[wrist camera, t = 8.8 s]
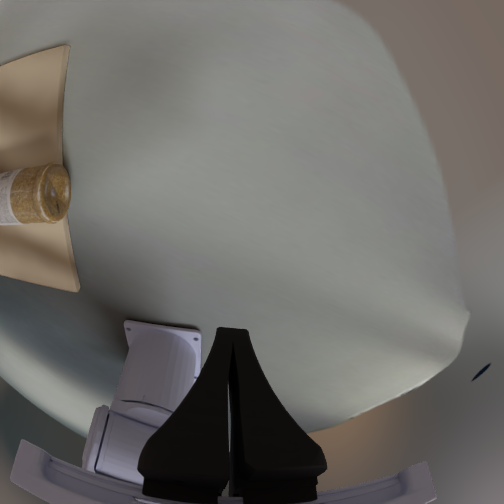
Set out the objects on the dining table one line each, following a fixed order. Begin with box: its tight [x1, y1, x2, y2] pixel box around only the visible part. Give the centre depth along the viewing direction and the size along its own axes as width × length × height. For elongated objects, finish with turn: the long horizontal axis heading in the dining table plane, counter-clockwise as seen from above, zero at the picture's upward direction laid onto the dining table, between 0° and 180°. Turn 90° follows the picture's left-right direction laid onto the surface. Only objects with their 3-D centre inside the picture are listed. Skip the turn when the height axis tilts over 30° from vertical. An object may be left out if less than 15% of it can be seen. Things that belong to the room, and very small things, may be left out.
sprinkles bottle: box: [0, 162, 71, 226], centre depth 15 cm, size 5×5×14 cm
